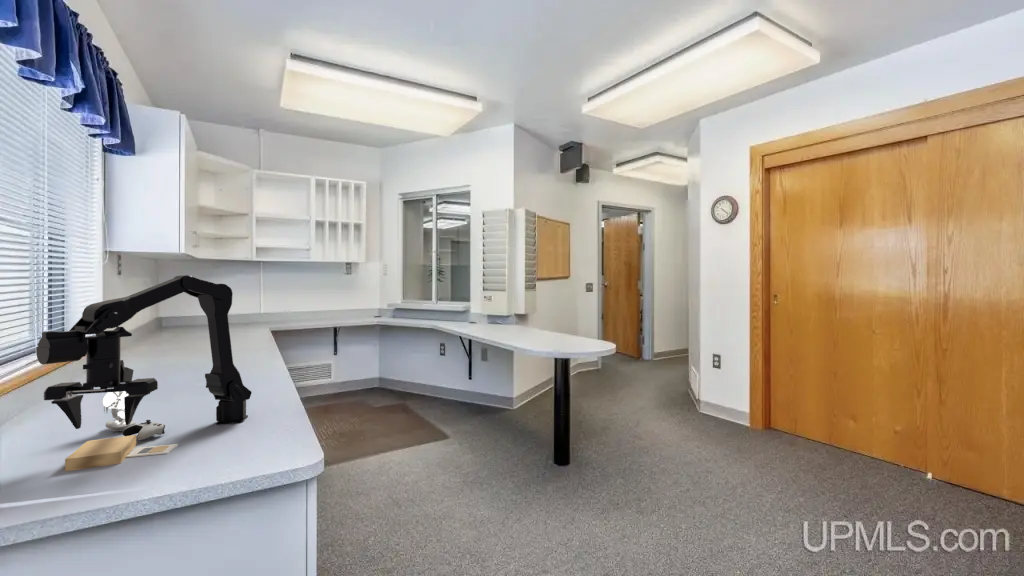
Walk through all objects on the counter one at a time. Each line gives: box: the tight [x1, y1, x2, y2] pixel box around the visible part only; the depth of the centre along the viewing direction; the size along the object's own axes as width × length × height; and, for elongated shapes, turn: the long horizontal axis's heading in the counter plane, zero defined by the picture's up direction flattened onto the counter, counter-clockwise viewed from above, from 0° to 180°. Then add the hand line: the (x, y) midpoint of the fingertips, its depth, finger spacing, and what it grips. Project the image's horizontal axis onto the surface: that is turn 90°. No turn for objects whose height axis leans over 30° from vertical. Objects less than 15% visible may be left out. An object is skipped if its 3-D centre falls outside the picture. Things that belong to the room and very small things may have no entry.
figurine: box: [102, 391, 137, 433], centre depth 120 cm, size 9×6×12 cm
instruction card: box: [125, 443, 179, 459], centre depth 105 cm, size 8×6×1 cm
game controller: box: [121, 419, 166, 441], centre depth 115 cm, size 10×5×6 cm
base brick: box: [64, 434, 137, 472], centre depth 101 cm, size 9×13×3 cm
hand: (103, 426), depth 101 cm, fingers open, 9 cm apart
